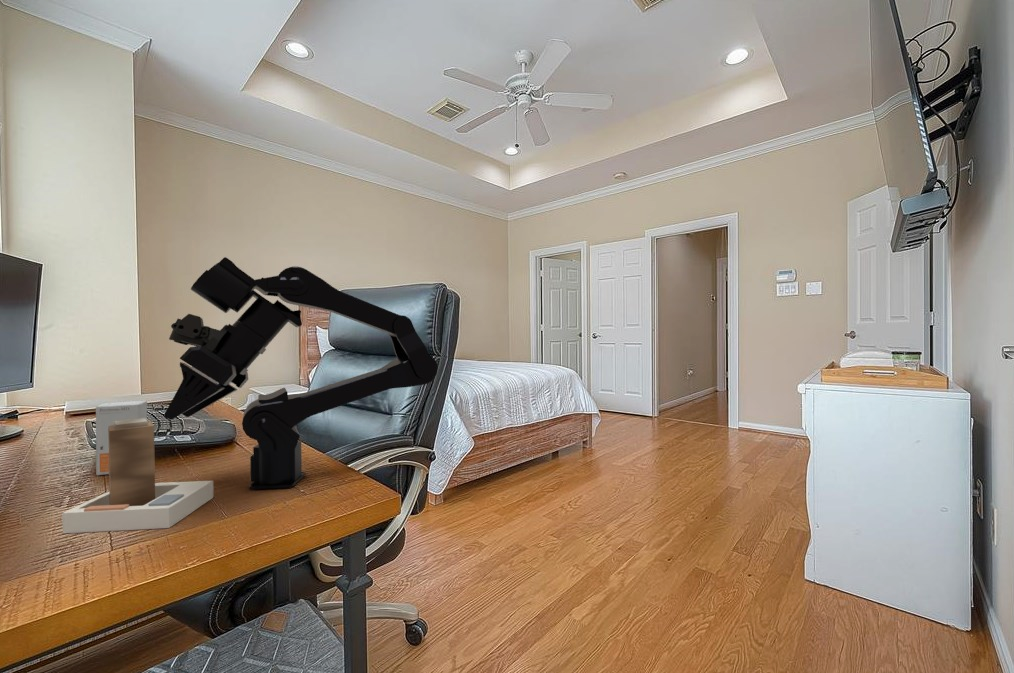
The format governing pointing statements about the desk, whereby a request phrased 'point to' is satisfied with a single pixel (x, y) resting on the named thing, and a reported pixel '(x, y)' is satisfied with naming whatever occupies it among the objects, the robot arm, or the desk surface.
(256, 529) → the desk surface
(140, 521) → the tray
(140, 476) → the walnut plug
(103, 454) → the skincare box
